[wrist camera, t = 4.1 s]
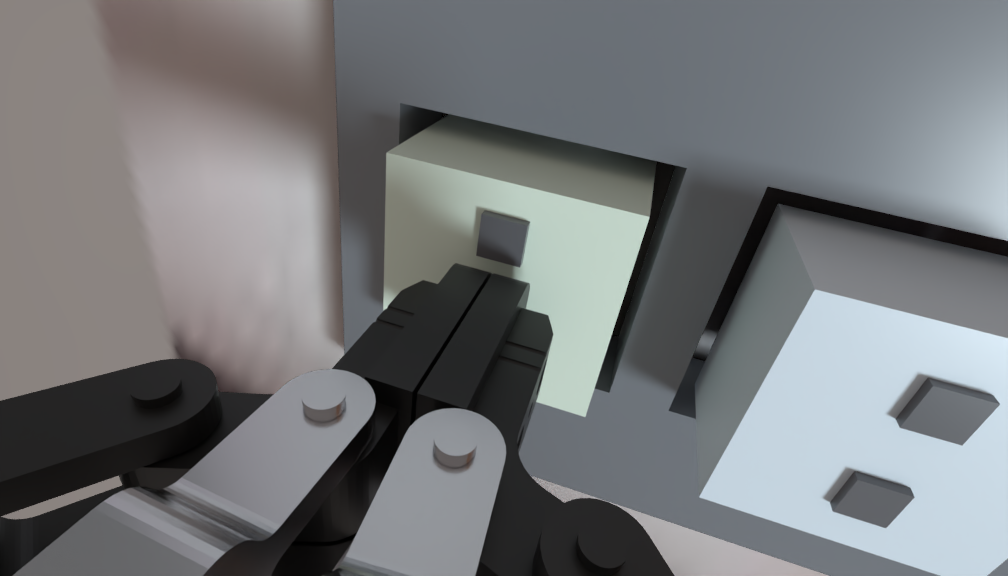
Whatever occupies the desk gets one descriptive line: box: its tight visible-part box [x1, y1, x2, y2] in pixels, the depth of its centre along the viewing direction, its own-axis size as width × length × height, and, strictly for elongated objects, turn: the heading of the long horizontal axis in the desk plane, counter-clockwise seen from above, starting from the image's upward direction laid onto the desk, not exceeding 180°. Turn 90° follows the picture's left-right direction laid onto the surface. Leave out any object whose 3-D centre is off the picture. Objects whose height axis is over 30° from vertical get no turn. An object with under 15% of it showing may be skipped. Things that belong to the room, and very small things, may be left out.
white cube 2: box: [695, 204, 1008, 576], centre depth 10 cm, size 5×5×4 cm
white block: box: [383, 114, 657, 417], centre depth 12 cm, size 5×5×4 cm
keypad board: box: [333, 0, 1008, 576], centre depth 12 cm, size 24×14×2 cm, turn 81°
